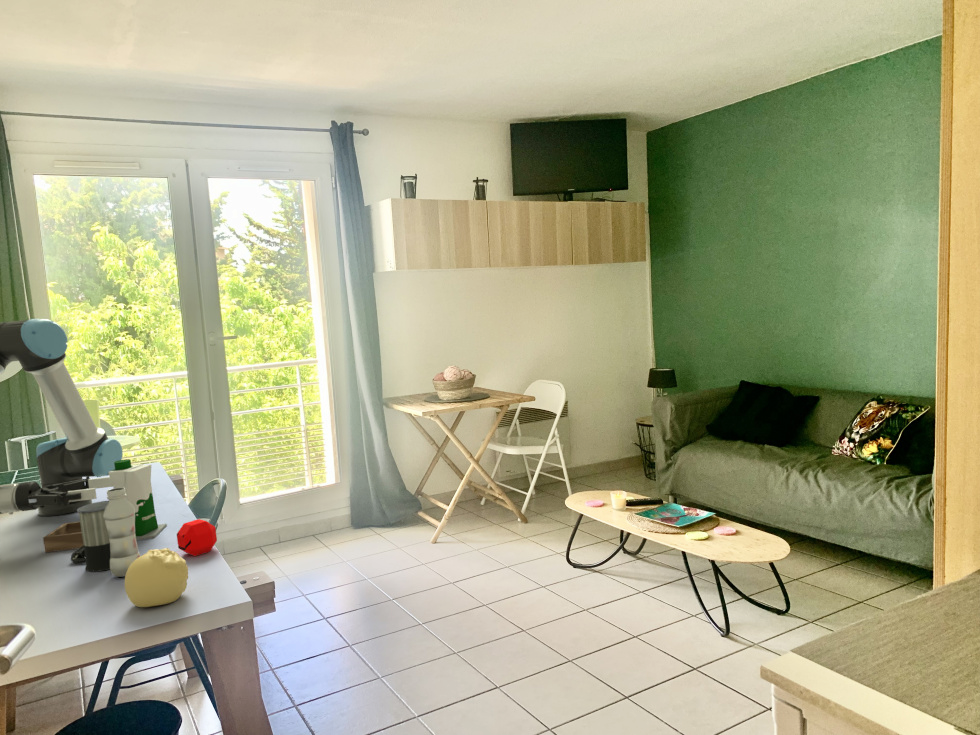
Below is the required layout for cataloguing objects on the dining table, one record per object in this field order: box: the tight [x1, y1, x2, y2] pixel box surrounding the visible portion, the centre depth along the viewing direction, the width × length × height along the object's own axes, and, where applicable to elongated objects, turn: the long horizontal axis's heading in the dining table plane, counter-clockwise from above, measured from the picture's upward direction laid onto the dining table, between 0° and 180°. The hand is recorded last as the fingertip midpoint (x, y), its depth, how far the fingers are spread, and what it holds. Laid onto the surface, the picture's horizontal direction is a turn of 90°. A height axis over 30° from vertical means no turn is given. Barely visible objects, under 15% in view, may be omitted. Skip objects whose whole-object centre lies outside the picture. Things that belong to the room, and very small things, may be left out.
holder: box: [42, 520, 84, 554], centre depth 198 cm, size 13×13×4 cm
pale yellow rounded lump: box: [124, 547, 189, 608], centre depth 150 cm, size 12×12×11 cm
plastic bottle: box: [103, 488, 141, 578], centre depth 167 cm, size 6×7×20 cm
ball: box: [176, 518, 218, 557], centre depth 180 cm, size 8×8×8 cm
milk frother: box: [70, 499, 110, 573], centre depth 178 cm, size 14×16×15 cm
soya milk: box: [108, 459, 159, 536], centre depth 199 cm, size 9×9×20 cm
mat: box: [136, 523, 168, 541], centre depth 201 cm, size 11×11×1 cm
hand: (105, 487), depth 198 cm, fingers open, 13 cm apart
